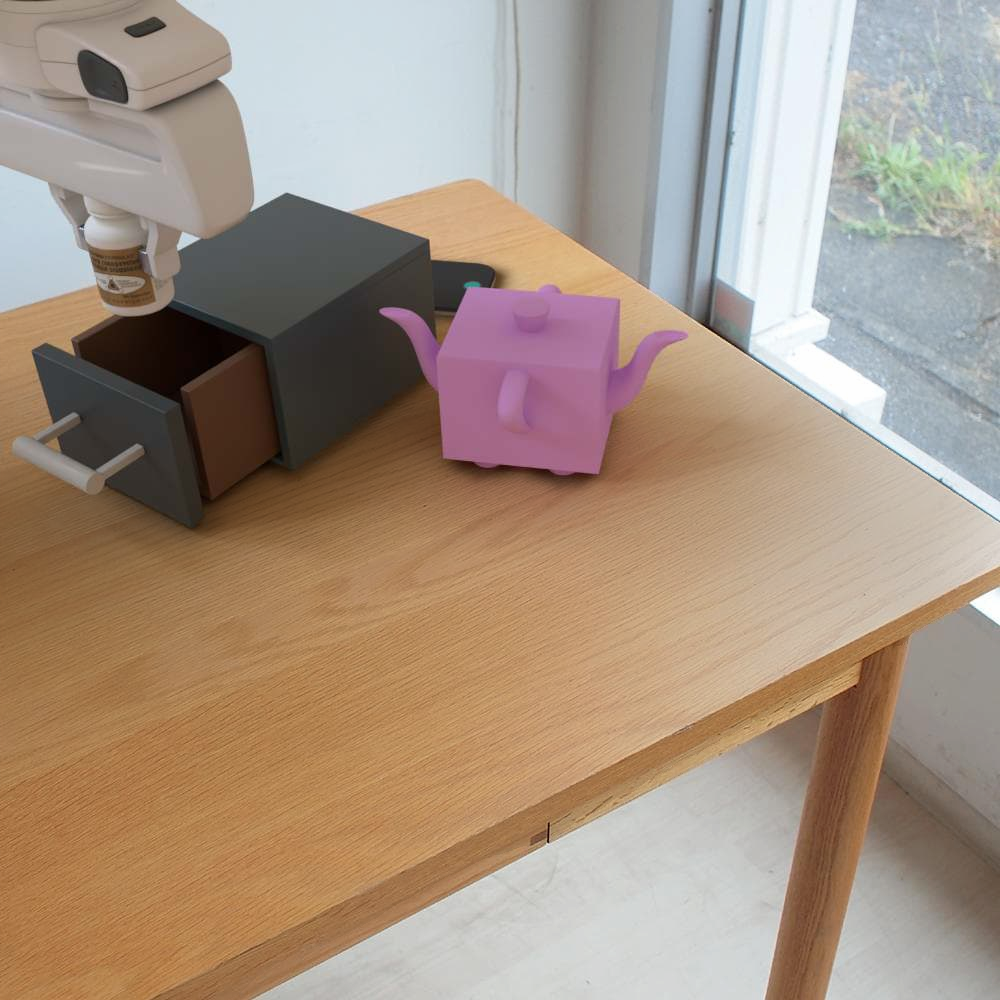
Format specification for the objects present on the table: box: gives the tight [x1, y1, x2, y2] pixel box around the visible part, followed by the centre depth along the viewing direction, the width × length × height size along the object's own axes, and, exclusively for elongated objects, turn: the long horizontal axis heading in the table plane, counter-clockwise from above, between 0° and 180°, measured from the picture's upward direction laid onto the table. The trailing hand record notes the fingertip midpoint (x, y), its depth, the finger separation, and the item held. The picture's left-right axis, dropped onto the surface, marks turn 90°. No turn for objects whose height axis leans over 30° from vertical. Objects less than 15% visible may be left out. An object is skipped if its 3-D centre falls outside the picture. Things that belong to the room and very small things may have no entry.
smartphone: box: [431, 259, 497, 318], centre depth 106 cm, size 8×1×15 cm
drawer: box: [11, 306, 282, 529], centre depth 86 cm, size 19×12×9 cm, turn 144°
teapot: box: [379, 284, 689, 476], centre depth 87 cm, size 15×13×11 cm
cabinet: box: [166, 192, 438, 472], centre depth 93 cm, size 16×14×11 cm
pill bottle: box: [83, 195, 175, 316], centre depth 78 cm, size 4×4×8 cm
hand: (130, 261), depth 79 cm, fingers closed on pill bottle, 4 cm apart
